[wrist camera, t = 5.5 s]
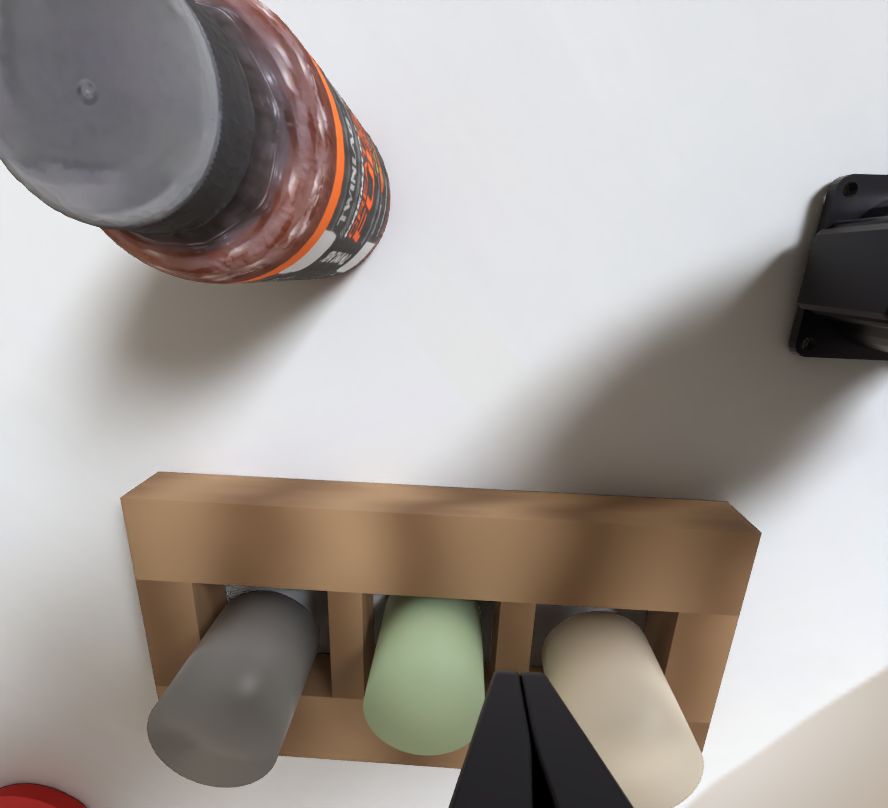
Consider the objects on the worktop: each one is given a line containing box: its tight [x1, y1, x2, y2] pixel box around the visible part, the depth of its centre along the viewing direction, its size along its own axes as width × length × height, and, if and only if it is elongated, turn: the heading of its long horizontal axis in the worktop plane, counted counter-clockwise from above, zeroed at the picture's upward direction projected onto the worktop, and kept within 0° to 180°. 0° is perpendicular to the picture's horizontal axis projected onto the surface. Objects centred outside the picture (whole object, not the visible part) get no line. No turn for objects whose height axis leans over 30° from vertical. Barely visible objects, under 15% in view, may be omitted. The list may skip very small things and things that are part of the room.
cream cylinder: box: [541, 611, 704, 808], centre depth 19 cm, size 5×5×5 cm
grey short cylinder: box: [147, 591, 320, 788], centre depth 19 cm, size 5×5×5 cm
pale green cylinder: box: [363, 595, 485, 756], centre depth 21 cm, size 5×5×5 cm
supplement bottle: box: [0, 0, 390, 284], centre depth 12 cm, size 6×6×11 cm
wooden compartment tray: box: [120, 472, 761, 769], centre depth 22 cm, size 26×14×2 cm, turn 88°
